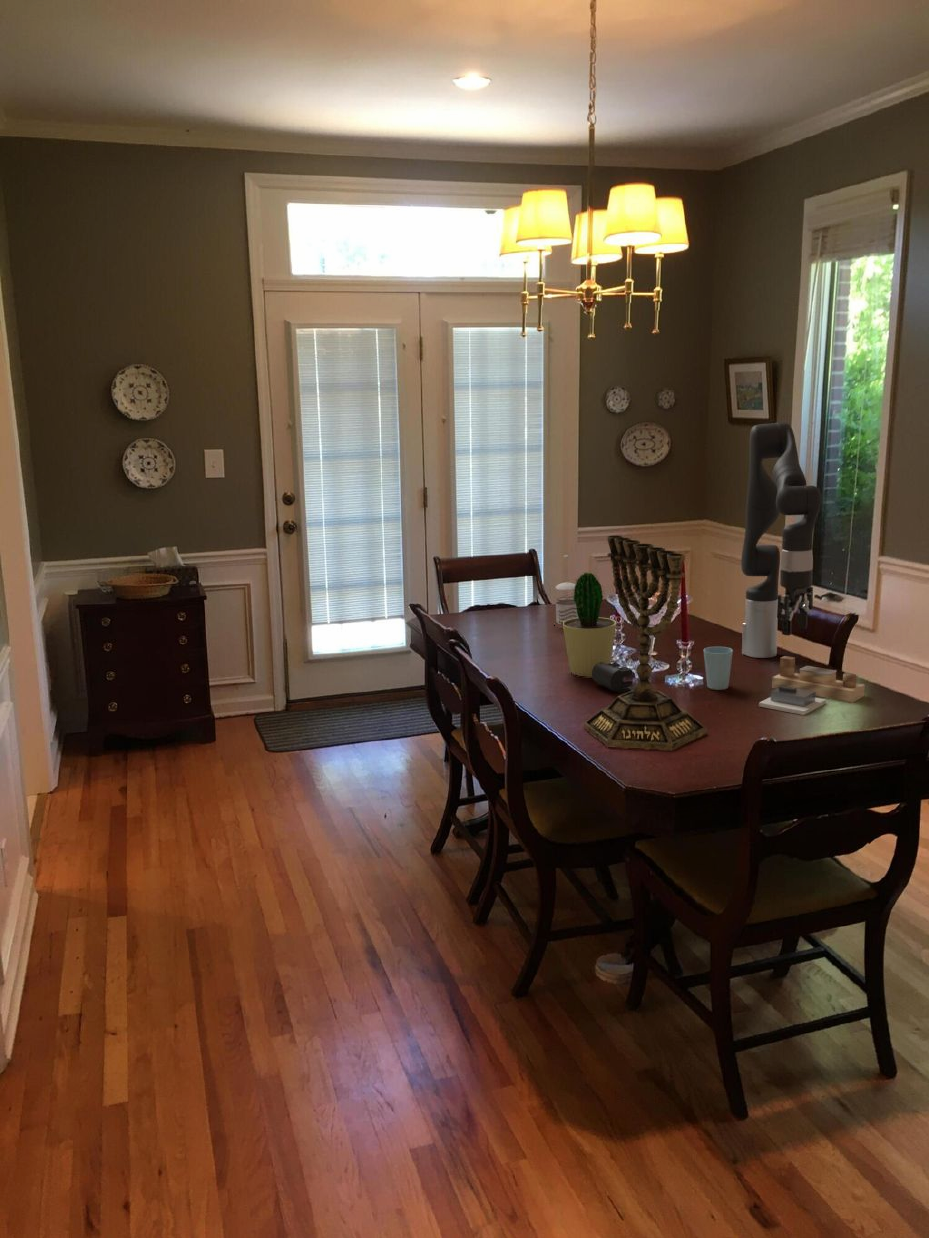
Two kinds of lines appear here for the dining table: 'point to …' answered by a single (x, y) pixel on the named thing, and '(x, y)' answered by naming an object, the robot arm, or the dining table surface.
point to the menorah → (645, 654)
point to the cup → (718, 666)
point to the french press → (565, 601)
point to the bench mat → (792, 706)
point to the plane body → (818, 681)
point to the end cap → (612, 677)
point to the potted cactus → (588, 628)
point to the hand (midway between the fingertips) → (794, 631)
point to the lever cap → (793, 696)
